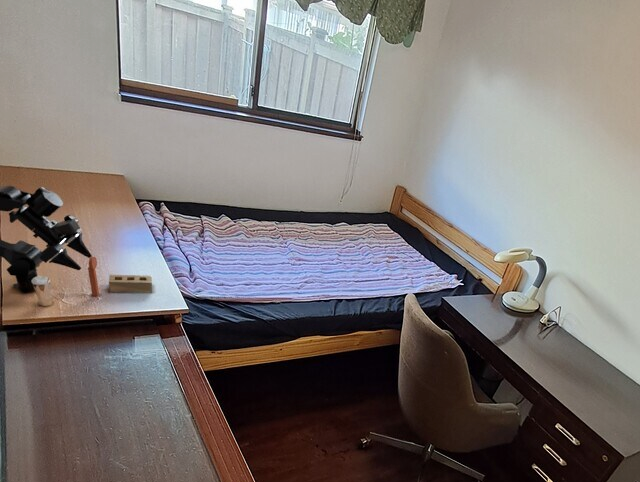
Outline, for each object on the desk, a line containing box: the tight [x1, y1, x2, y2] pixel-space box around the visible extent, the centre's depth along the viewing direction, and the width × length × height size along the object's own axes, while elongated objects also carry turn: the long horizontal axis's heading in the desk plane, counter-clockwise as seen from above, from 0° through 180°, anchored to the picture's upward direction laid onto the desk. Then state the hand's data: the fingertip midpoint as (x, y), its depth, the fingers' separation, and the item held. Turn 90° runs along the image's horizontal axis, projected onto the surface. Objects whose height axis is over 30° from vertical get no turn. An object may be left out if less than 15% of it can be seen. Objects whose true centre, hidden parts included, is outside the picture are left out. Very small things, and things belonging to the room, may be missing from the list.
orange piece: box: [87, 256, 100, 297], centre depth 149 cm, size 2×4×14 cm, turn 10°
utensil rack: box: [108, 274, 153, 294], centre depth 159 cm, size 5×13×4 cm, turn 113°
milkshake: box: [31, 275, 53, 307], centre depth 140 cm, size 4×5×10 cm
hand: (85, 263), depth 146 cm, fingers open, 9 cm apart
